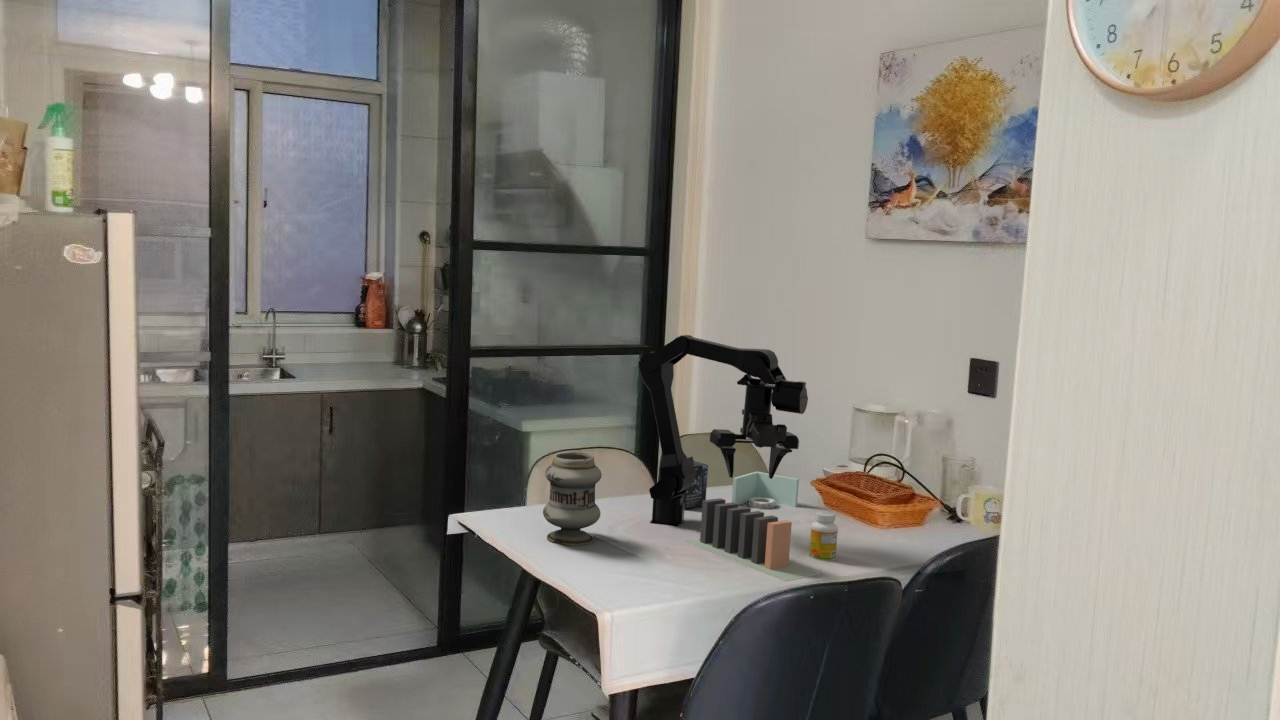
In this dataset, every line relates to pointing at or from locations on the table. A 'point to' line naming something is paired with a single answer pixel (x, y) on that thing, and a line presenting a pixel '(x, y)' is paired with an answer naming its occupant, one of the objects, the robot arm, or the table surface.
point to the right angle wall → (765, 490)
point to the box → (697, 487)
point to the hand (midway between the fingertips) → (750, 477)
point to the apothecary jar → (572, 497)
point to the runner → (781, 573)
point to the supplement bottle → (823, 537)
